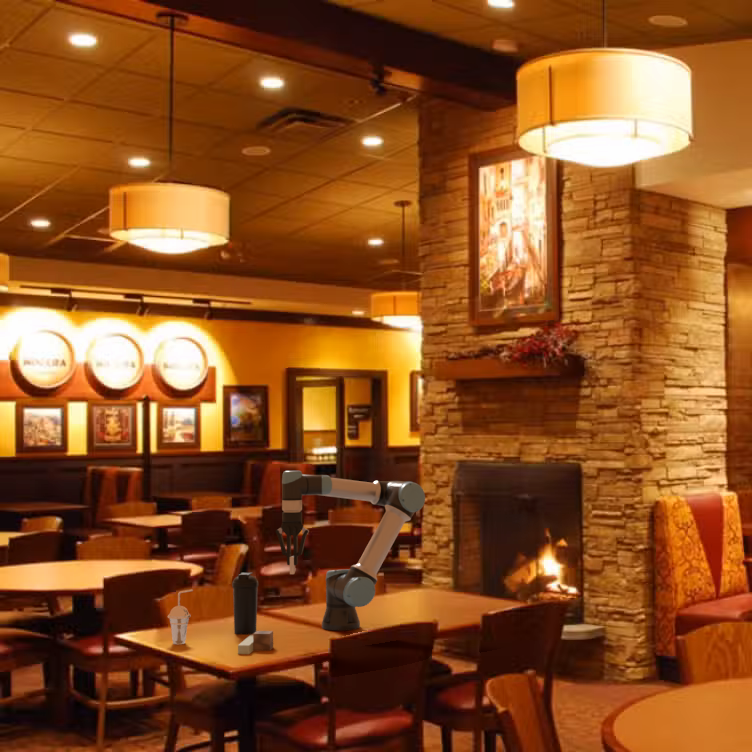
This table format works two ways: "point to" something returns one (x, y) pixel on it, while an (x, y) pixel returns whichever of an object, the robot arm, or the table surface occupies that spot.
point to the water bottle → (245, 603)
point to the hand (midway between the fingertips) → (292, 573)
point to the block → (263, 640)
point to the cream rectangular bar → (246, 646)
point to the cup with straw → (179, 621)
